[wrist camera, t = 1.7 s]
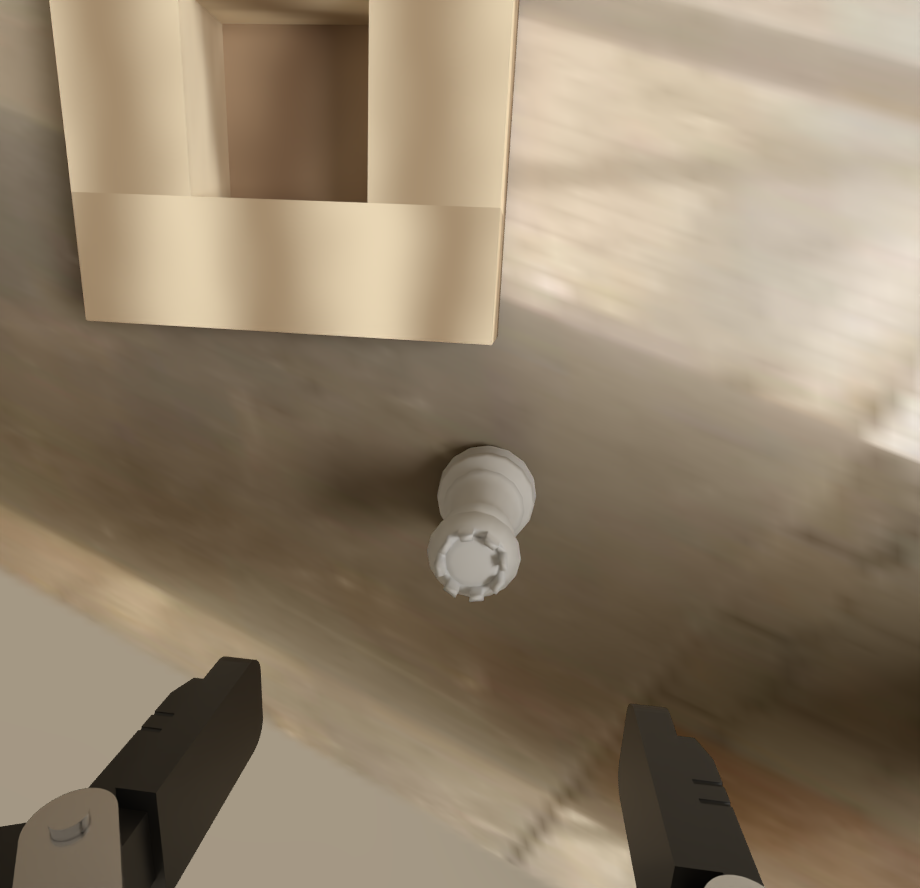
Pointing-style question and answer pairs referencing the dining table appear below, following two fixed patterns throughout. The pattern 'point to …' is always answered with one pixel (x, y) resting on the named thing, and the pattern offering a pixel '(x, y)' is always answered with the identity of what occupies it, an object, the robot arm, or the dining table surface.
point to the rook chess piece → (480, 521)
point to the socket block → (290, 162)
